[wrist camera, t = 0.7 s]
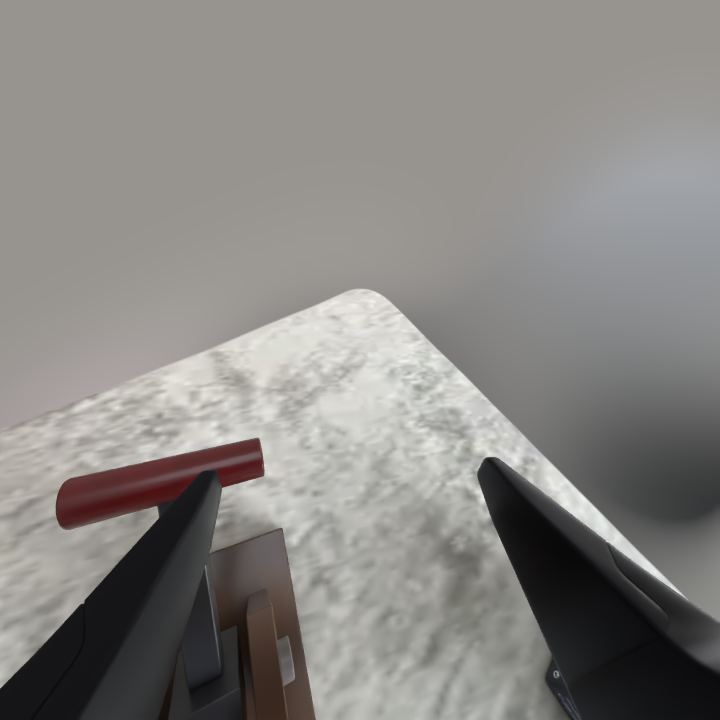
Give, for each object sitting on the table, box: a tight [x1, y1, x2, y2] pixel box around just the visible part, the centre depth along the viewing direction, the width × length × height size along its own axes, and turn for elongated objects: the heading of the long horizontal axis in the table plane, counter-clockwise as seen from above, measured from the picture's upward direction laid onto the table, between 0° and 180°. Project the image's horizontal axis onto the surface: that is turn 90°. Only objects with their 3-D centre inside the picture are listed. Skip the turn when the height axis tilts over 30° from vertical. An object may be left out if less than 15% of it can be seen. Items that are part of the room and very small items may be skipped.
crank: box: [56, 438, 264, 720], centre depth 10 cm, size 11×6×2 cm
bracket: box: [158, 528, 316, 720], centre depth 12 cm, size 10×8×8 cm
